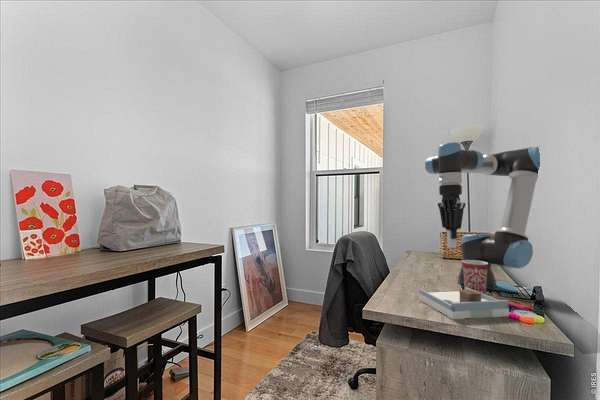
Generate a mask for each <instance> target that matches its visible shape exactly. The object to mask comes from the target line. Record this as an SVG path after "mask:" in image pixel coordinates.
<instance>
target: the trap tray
mask: <svg viewBox="0 0 600 400" xmlns="http://www.w3.org/2000/svg"><path fill="white" fill-rule="evenodd" d="M464 290H473V289H470V288H467V287H464ZM473 291H475V290H473ZM476 292H478V291H476ZM478 293H480V292H478ZM418 300H419V301H421V302H422V303H424V304H426V305H428V306H430V307H431V308H433V310H436V311H438V312H439V311H440V313H441V312H442V313H441V314H443V315H444V314H445V315H444V316H446V315H447V316H446V317H448V318H449V319H452V320H464V319H465V318H470V319H483V318H486V319H487V318H497V317H498V318H499V317H500V318H501V317H509V316H510V300H508V299H501V300H500V299H497V298H495V297H493V296H489V295H487V294H486V295H485V294H483V293H481V301H478V302H460V290H458V291H457V290H456V291H455V290H454V291H436V292H434V291H433V292H427V291H425V290H424V289H421V288H419V289H418ZM465 320H466V319H465Z"/></svg>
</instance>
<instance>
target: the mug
mask: <svg viewBox="0 0 600 400" xmlns="http://www.w3.org/2000/svg"><path fill="white" fill-rule="evenodd" d="M462 262H463V272H464V285H463V287H464V288H465V287H467V288H470V289H473V290H475V291H478V292H480V293H483V294H485V295H487V288H486V285H487V268H488V263H487V262H484V261H477V260H464V261H462V260H461V263H462Z"/></svg>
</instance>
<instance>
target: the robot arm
mask: <svg viewBox="0 0 600 400" xmlns="http://www.w3.org/2000/svg"><path fill="white" fill-rule="evenodd" d="M538 147H539V146H534V147H532V146H529V147H526V148H521V149H520V148H519V149H515V150H514V149H513V150H507V151H502V152H497V153H494V154H484V155H483V153H482V152H480V151H477V150H474V149H473V150H472V149H471V150H470V149H469V150H467V149H462V146H461V144H460V142H445V143H442V144H440V145H439V146H438V151H437V152H438V154H437V155H433V156H430V157H428V158H427V159H426V160H425V162H424V168H425V171H426V172H427V173H428V174H430V175H431V174H432V175H437V174H438V178H439V183H438V184H440V185H439V188H438V190H439V195H440V196H441V202H438V203H437V207H438V209H439V214H440V215H439V216H440V221H441V225H442V228H445V231H446V243H447V245H446V247H447V248H451V249H453V248H454V249H457V237H458V236H457V234H458V233H457V231H458V230H461V228H462V223H463V215H464V209H465V207H466V203H465V202H461V198H460V195H462V194H463V190H462V189H463V188H462V187H463V186H462V182H463V181H462V180H463V178H462V174H468V173H469V174H475V173H476V174H479V173H480V174H482V175H485V176H498V177H509V179H511V180H510V185H509V191H508V193H507V194H508V195H507V198H506V203H505V206H504V207H505V208H504V211H503V215H502V220H501V226H500V228H499V229H498V230H495V232H494V235H493V236H492V235H491V233H473V234H464V235H463V236H462V237H461V243H460V245H461V268H460V270H459V274H458V276H457V283H459V284H460V285H462V284H464V272H463V262H462V261H464V260H477V261H484V262H487V263H488V268H487V285H486V287H494V286H496V287H497V280H496V278H495V275H494V272H493V269H492V265H495V266H501V267H506V268H509V269H510V268H511V269H522V268H525V267H526V266H528V265H529V263H530V262H531V260H532V258H533V256H534V250H533V248H534V247H533V244H532V243H531V242H530V241H529V237H528V236H527V235H526V229H527V225H528V221H529V215H530V211H531V207H532V202H533V198H534V197H533V196H534V192H535V188H536V184H537V182H538V181H537V178H538V170H539V167H540V153H539V148H538ZM536 181H537V182H536ZM494 288H495V287H494Z"/></svg>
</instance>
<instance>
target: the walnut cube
mask: <svg viewBox="0 0 600 400" xmlns="http://www.w3.org/2000/svg"><path fill="white" fill-rule="evenodd" d="M459 291H460V302H478V301H481V293H478V292H476V291H473V290H465V289H460V290H459Z"/></svg>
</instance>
